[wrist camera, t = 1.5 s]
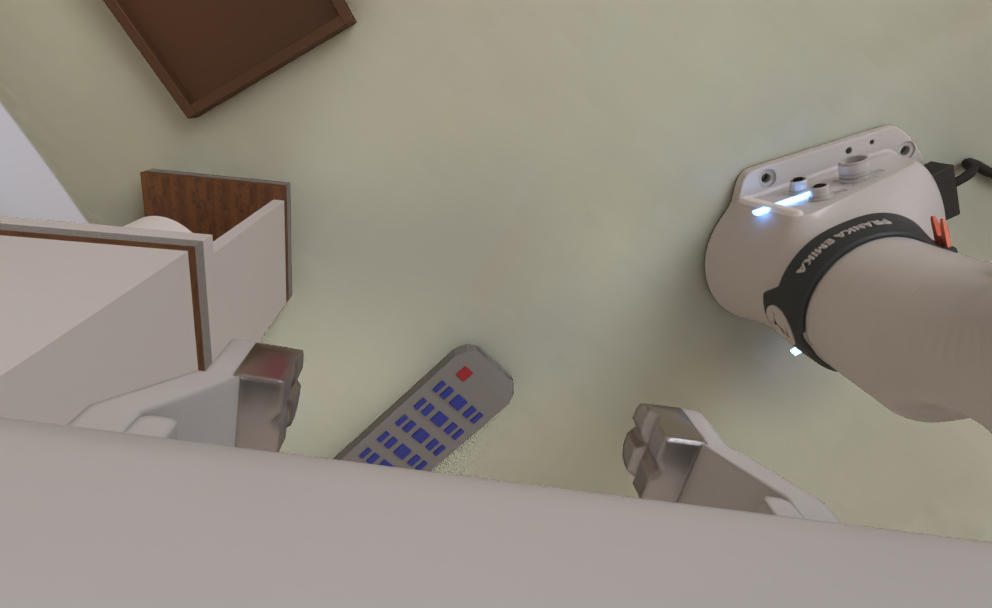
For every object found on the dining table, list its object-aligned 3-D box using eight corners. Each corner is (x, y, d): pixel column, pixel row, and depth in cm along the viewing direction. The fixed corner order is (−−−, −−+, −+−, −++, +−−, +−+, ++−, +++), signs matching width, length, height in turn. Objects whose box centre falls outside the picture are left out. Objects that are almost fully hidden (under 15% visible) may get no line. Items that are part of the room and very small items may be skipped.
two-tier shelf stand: (290, 182, 49) (-10, 382, 17) (291, 294, 53) (51, 634, 20) (152, 168, 48) (-468, 357, 15) (164, 285, 51) (-311, 633, 19)
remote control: (320, 469, 61) (315, 482, 59) (468, 336, 56) (468, 345, 54) (375, 508, 63) (372, 522, 61) (520, 384, 59) (523, 395, 57)
